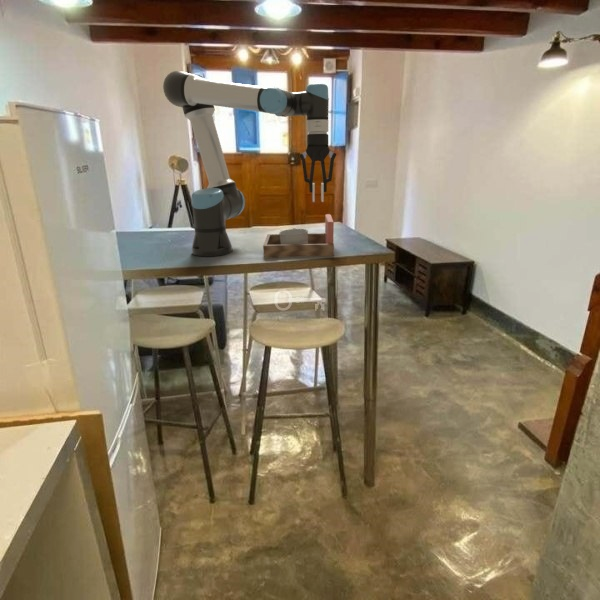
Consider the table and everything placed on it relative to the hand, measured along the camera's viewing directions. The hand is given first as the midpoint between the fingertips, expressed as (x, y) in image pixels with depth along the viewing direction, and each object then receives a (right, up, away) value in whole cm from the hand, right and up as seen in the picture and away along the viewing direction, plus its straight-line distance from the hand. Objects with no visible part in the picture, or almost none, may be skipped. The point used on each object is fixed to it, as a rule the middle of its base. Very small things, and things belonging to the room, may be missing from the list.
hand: (318, 201), depth 155 cm
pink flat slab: (+6, -17, +6) cm, 19 cm away
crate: (-7, -17, +6) cm, 20 cm away
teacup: (-9, -18, +7) cm, 21 cm away
